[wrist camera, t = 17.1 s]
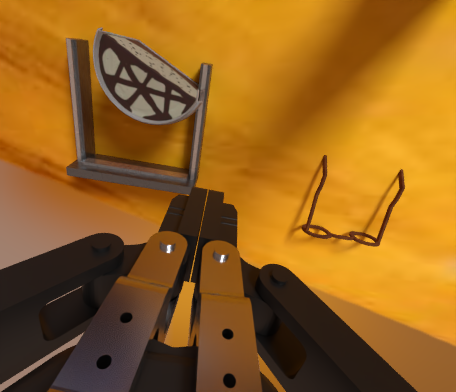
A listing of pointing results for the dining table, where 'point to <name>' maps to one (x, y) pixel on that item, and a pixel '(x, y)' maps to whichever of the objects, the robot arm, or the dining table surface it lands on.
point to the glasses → (352, 237)
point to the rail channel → (118, 167)
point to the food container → (142, 81)
